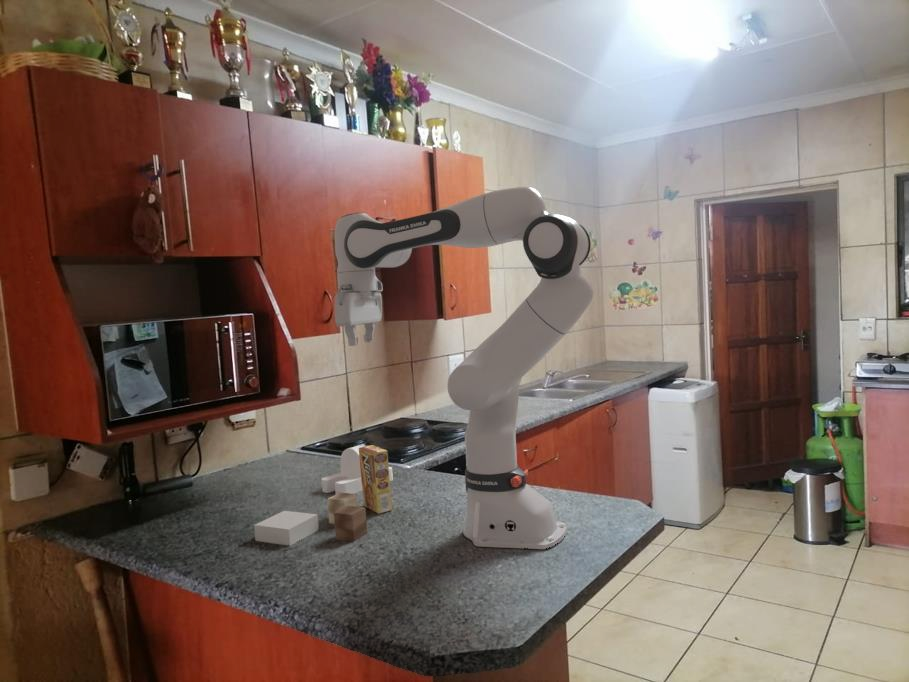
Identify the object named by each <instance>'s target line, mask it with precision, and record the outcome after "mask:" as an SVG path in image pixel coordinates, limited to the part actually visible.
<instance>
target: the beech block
mask: <svg viewBox="0 0 909 682" xmlns="http://www.w3.org/2000/svg"><path fill="white" fill-rule="evenodd" d="M357 495H358V494H357V493H354V494H350V493H338V494H336V493H335V494H334V495H332V496H330V497H328V498H327V500H326V501H327V502H326V503H327V512H328V524H332V525H335V521H334V512H336V511H338V510H340V509H342V508H344V507H346V506H355V507H359V505H358V496H357Z"/></svg>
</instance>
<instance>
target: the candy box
mask: <svg viewBox="0 0 909 682" xmlns="http://www.w3.org/2000/svg"><path fill="white" fill-rule="evenodd" d="M388 457H389V453H388V450H387V449H384V448H382V447H379V446H376V445H373V444H372V445H365V446H363V447H360V448H359V458H360V469H361V480H362V491H361V492H362V500H363V502H362V503H363V506H364V508H368V509H370V511H372V512H374V513H377V514H383V513H386V512H390V511H392V510H393V507H392V504H393V503H392V491H391V490H392V489H391V481H390V478H389V467H390V466H389V465H390V464H389V458H388Z"/></svg>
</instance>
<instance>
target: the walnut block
mask: <svg viewBox="0 0 909 682" xmlns="http://www.w3.org/2000/svg"><path fill="white" fill-rule="evenodd" d="M334 521H335V524H334V530H335V533H334V534H335V540H341V541H348V542H349V541H350V542H356V541H357V540H359V539H361V538H362V537H364V536H365V535H367V534H368V526H367V525H368V523H367V513H366V507H365V506H364V507H363V506H358V507H355V506H346V507H344V508H342V509H340V510H338V511H336V512H334Z"/></svg>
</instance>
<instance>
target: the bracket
mask: <svg viewBox="0 0 909 682" xmlns="http://www.w3.org/2000/svg"><path fill="white" fill-rule="evenodd" d="M360 447H364V446H362V445H355V446H353V447H348V448H346V449H344V450H343V451H342V453H341V456H340V461H339V463H340V472H338V473H334V474H332V475H328V476H325V477H324V476H323V477H322V478H321V481H320V482H321V491H322V493H326V494H329V493H332V492H335V495H336V494H338V493H350V494H357V493H360V492H363V491H362V480H361V469H360V458H359V448H360ZM389 478H390V482H392V481H394V476H393V467H392V466H389Z"/></svg>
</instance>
